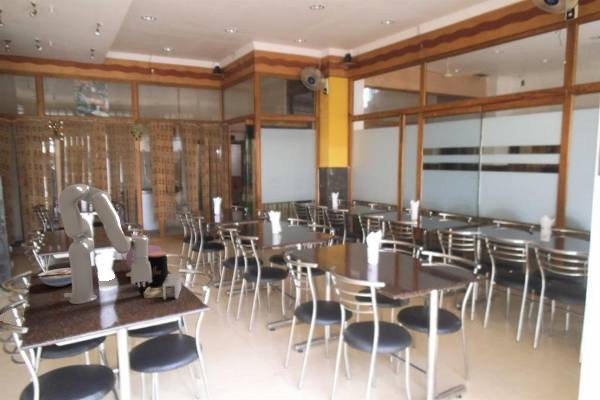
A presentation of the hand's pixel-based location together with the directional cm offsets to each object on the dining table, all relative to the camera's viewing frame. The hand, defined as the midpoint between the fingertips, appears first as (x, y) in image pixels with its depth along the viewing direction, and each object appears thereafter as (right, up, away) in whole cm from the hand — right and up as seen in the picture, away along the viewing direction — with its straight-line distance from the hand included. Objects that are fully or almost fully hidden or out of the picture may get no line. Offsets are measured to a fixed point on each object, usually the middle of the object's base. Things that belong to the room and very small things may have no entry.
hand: (142, 293), depth 224 cm
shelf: (+15, 0, +3) cm, 16 cm away
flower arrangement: (-16, +3, +43) cm, 46 cm away
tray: (+9, -1, +1) cm, 9 cm away
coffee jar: (+2, +1, +21) cm, 21 cm away
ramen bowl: (-55, 0, +21) cm, 59 cm away
